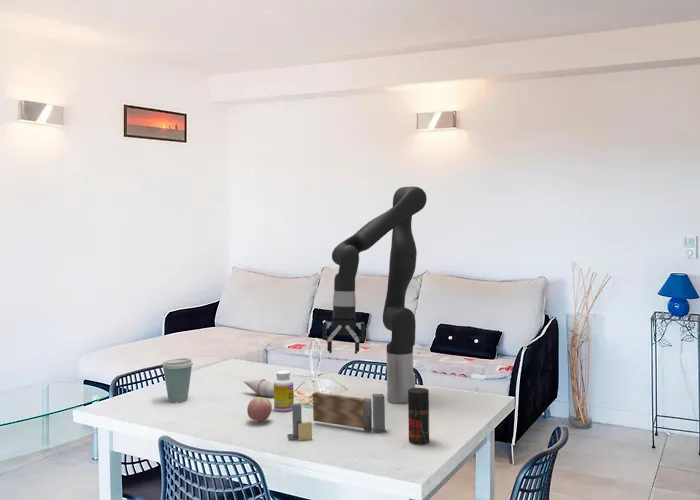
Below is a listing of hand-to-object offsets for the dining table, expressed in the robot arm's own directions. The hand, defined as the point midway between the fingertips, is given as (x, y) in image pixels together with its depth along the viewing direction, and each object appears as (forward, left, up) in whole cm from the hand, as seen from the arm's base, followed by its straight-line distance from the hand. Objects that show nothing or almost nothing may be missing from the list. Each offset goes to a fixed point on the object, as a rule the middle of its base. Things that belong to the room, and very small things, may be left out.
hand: (343, 353), depth 228 cm
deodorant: (-15, +35, -20) cm, 43 cm away
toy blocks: (+19, +23, -20) cm, 35 cm away
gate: (+4, +17, -19) cm, 26 cm away
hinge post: (-6, +23, -20) cm, 31 cm away
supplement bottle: (+20, -7, -20) cm, 29 cm away
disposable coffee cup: (+56, -28, -20) cm, 65 cm away
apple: (+29, +5, -20) cm, 35 cm away
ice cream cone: (+27, -27, -20) cm, 43 cm away
